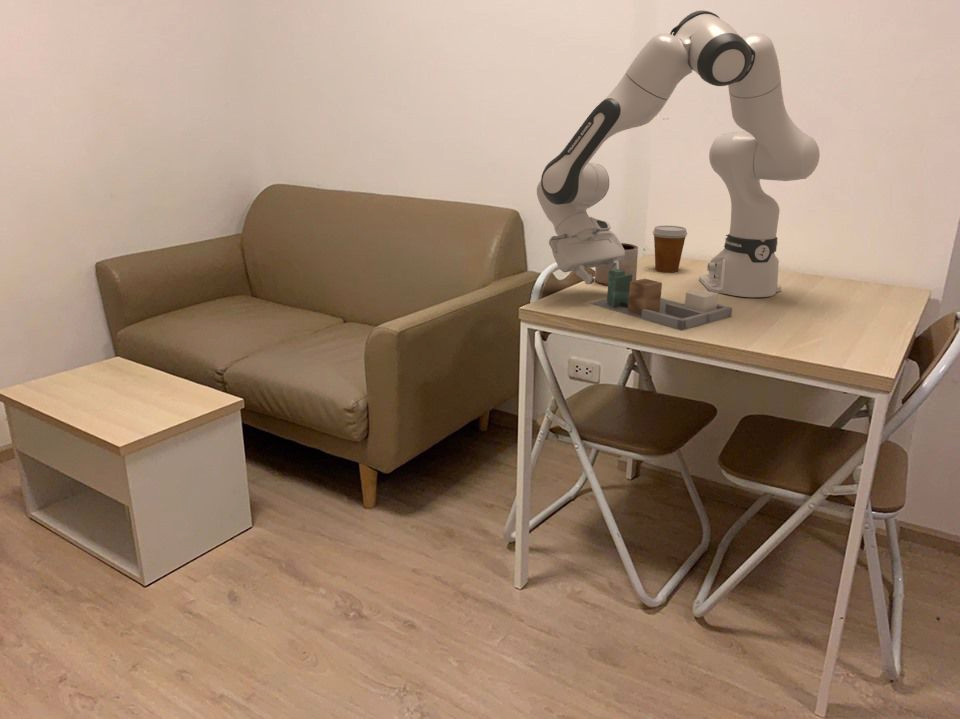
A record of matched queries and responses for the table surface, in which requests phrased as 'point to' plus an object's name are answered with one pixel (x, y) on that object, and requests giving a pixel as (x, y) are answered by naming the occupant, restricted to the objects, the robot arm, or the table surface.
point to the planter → (620, 265)
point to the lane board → (674, 314)
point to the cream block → (701, 300)
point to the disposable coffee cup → (668, 247)
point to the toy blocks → (633, 292)
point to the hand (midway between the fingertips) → (604, 280)
